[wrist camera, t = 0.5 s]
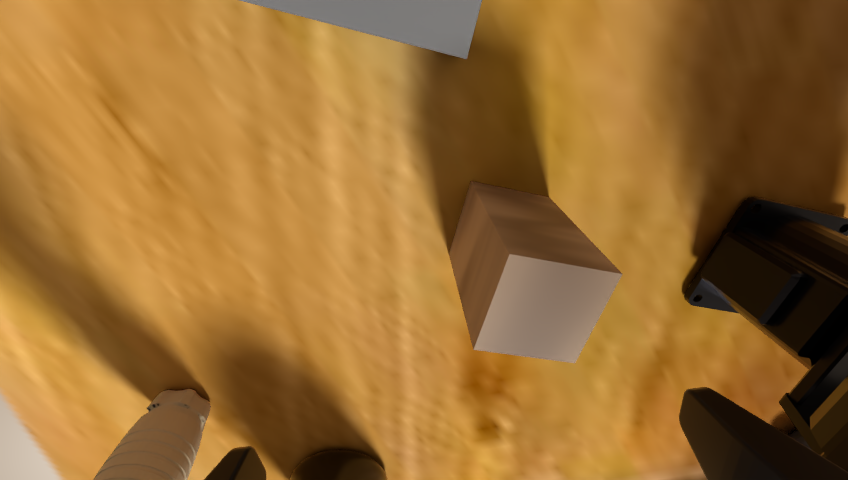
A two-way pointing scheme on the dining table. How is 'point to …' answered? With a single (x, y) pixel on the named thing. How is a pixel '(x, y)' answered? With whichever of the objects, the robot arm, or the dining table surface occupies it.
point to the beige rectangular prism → (527, 275)
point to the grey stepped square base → (395, 19)
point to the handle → (160, 440)
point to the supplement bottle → (338, 467)
